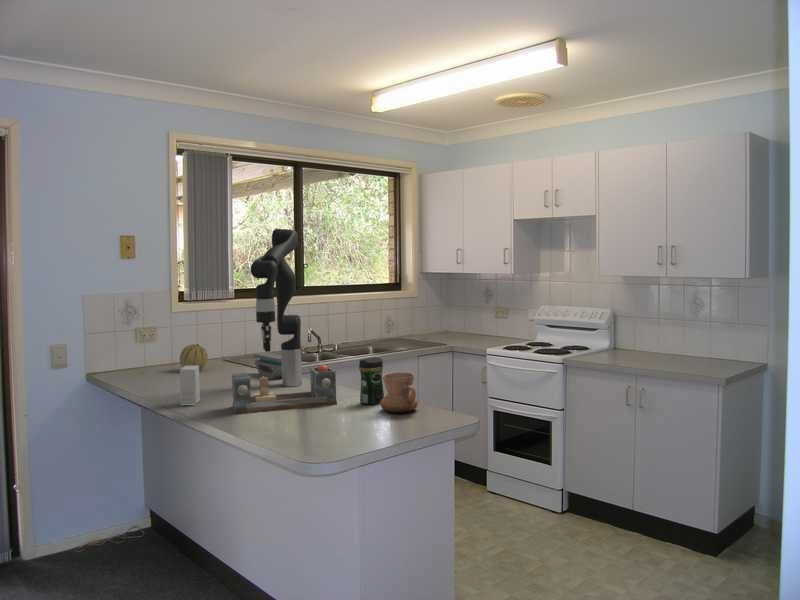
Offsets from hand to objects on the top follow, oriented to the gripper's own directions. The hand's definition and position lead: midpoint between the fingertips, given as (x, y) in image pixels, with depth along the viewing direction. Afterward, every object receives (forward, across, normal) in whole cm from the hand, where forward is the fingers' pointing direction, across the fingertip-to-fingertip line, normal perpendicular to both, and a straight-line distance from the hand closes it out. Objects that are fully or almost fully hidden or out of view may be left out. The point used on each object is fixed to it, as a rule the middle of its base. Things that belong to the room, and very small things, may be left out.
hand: (266, 350), depth 257 cm
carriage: (+21, +1, -2) cm, 21 cm away
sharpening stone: (+21, -68, +7) cm, 72 cm away
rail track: (+23, 0, +6) cm, 24 cm away
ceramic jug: (+24, +26, +48) cm, 59 cm away
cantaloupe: (+20, -101, -32) cm, 108 cm away
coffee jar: (+23, +9, +41) cm, 48 cm away
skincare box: (+23, -16, -31) cm, 41 cm away
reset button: (+12, 0, +22) cm, 25 cm away
